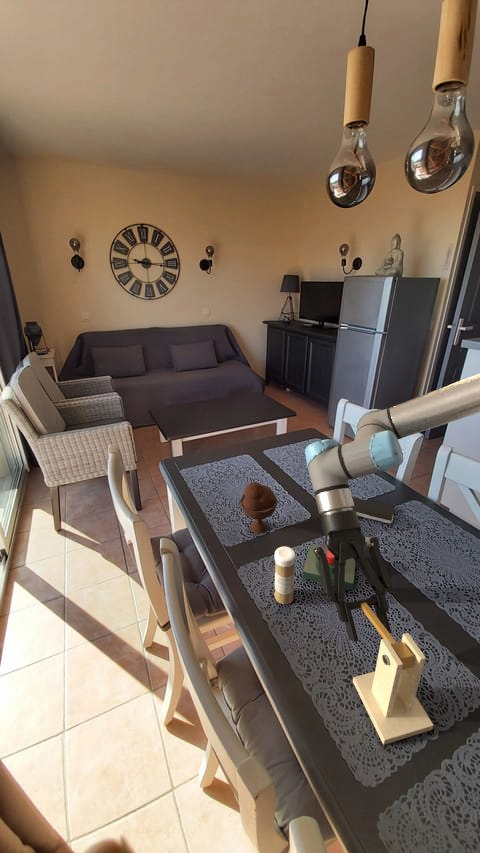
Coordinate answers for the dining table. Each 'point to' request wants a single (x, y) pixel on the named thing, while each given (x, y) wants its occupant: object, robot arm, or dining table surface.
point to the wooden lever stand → (394, 693)
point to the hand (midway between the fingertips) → (370, 635)
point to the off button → (330, 557)
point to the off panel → (313, 571)
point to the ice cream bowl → (258, 505)
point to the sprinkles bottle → (284, 574)
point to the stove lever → (384, 631)
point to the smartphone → (373, 510)
